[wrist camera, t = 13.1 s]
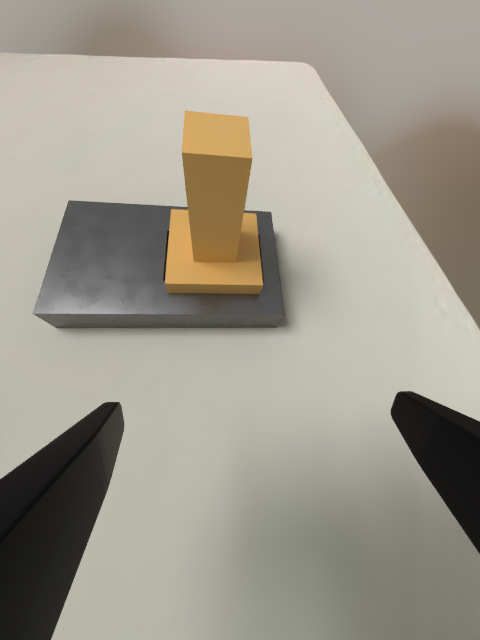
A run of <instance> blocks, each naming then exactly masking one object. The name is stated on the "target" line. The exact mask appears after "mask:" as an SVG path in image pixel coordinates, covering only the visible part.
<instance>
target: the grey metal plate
mask: <svg viewBox="0 0 480 640" xmlns="http://www.w3.org/2000/svg"><path fill="white" fill-rule="evenodd" d="M171 209H179V210H188V207H174V206H157V205H139V204H122V203H104V202H86V201H68V204H67V207H66V211H65V214H64V217H63V220H62V223H61V226H60V230H59V233H58V236H57V239H56V242H55V245H54V248H53V252H52V255H51V258H50V261H49V264H48V267H47V271H46V274H45V277H44V280H43V283H42V286H41V290H40V293H39V296H38V299H37V302H36V305H35V308H34V312H33V314H34V315H36V316H38V317H39V318H41V319H43V320H44V321H46V322H47V323H49V324H51V325H52V326H54V327H55V328H137V327H276V326H277V325H278V323H279V322H280V320H281V319H282V317H283V316H284V311H283V303H282V295H281V287H280V279H279V271H278V263H277V255H276V247H275V239H274V231H273V223H272V215H271V212H263V211H245V210H244V213H254V214H256V217H257V227H258V238H259V248H260V258H261V269H262V279H263V287H262V290H261V292H260V294H223V293H168V292H167V289H166V286H165V275H166V263H167V252H168V240H169V228H170V217H171Z"/></svg>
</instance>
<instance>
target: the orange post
mask: <svg viewBox="0 0 480 640" xmlns="http://www.w3.org/2000/svg"><path fill="white" fill-rule="evenodd" d="M182 158H183V167H184V177H185V186H186V195H187V205H188V210H179V209H171V217H170V228H169V240H168V252H167V263H166V275H165V286H166V289H167V292H168V293H223V294H260V292H261V290H262V287H263V279H262V269H261V258H260V248H259V238H258V227H257V217H256V214H254V213H244V208H245V202H246V195H247V189H248V182H249V176H250V170H251V163H252V150H251V141H250V131H249V121H248V117H241V116H231V115H221V114H211V113H201V112H192V111H185V116H184V131H183V145H182Z"/></svg>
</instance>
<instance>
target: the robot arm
mask: <svg viewBox="0 0 480 640" xmlns="http://www.w3.org/2000/svg"><path fill="white" fill-rule="evenodd" d="M391 416H392V419H393V421H394V422H395V424H396V426H397V428H398V429H399V431H400V433H401V435H402V436H403V438H404V440H405V442H406V443H407V445H408V447H409V449H410V450H411V452H412V454H413V456H414V457H415V459H416V461H417V462H418V464H419V465H420V467H421V468H422V470H423V471H424V473H425V474H426V476H427V477H428V479H429V480H430V482H431V483H432V485H433V486H434V488H435V489H436V490H437V492H438V493H439V495H440V496H441V498H442V499H443V501H444V502H445V504H446V505H447V507H448V508H449V510H450V511H451V512H452V514H453V515H454V517H455V518H456V520H457V521H458V523H459V524H460V526H461V527H462V529H463V530H464V532H465V533H466V534H467V536H468V537H469V539H470V540H471V542H472V543H473V545H474V546H475V548H476V549H477V551H478V552H479V554H480V422H479V421H477V420H475V419H473V418H470V417H468V416H466V415H464V414H461V413H459V412H457V411H455V410H452V409H450V408H448V407H446V406H443V405H441V404H439V403H437V402H434V401H432V400H430V399H428V398H425V397H423V396H421V395H419V394H416V393H414V392H411V391H401V392H398V393H397V394H396V397H395V400H394V402H393V405H392V408H391ZM123 432H124V419H123V413H122V407H121V404H120V403H119V402H106V403H103V404H102V405H101V406H99V407H98V408H97V409H95V410H94V411H92V412H91V413H90V414H88V415H87V416H86V417H84V418H83V419H82V420H80V421H79V422H77V423H76V424H75V425H73V426H72V427H71V428H69V429H68V430H67V431H65V432H64V433H63V434H61V435H60V436H58V437H57V438H56V439H54V440H53V441H52V442H50V443H49V444H48V445H46V446H45V447H44V448H42V449H41V450H39V451H38V452H37V453H35V454H34V455H33V456H31V457H30V458H29V459H27V460H26V461H25V462H23V463H22V464H20V465H19V466H18V467H16V468H15V469H14V470H12V471H11V472H10V473H8V474H7V475H6V476H4V477H3V478H1V479H0V640H51V638H52V635H53V633H54V630H55V628H56V625H57V622H58V620H59V617H60V614H61V612H62V609H63V606H64V604H65V601H66V598H67V596H68V593H69V590H70V588H71V585H72V583H73V580H74V577H75V575H76V572H77V569H78V567H79V564H80V561H81V559H82V556H83V553H84V551H85V548H86V546H87V543H88V540H89V538H90V535H91V532H92V530H93V527H94V524H95V522H96V519H97V516H98V514H99V511H100V509H101V506H102V503H103V501H104V498H105V495H106V492H107V490H108V487H109V484H110V480H111V477H112V473H113V469H114V465H115V462H116V458H117V454H118V450H119V447H120V443H121V439H122V435H123Z"/></svg>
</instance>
